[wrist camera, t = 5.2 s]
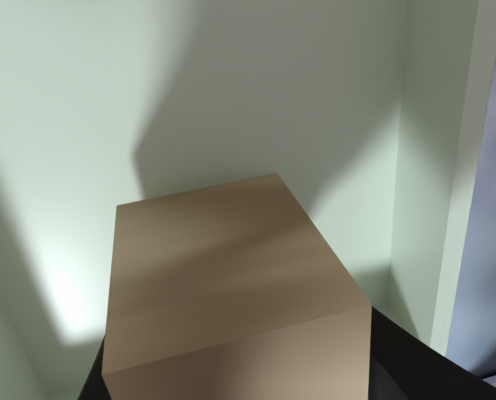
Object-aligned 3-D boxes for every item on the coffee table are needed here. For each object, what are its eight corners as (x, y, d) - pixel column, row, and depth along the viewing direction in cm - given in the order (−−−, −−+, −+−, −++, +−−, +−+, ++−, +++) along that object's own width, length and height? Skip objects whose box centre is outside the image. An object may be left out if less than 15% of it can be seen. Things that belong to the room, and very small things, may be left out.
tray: (392, 303, 16) (443, 368, 14) (40, 396, 14) (17, 492, 12) (449, -458, 8) (622, -696, 5) (-435, -479, 6) (-959, -899, 3)
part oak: (277, 172, 11) (372, 304, 6) (287, 293, 13) (365, 456, 8) (116, 205, 10) (101, 375, 6) (153, 326, 12) (162, 520, 8)
